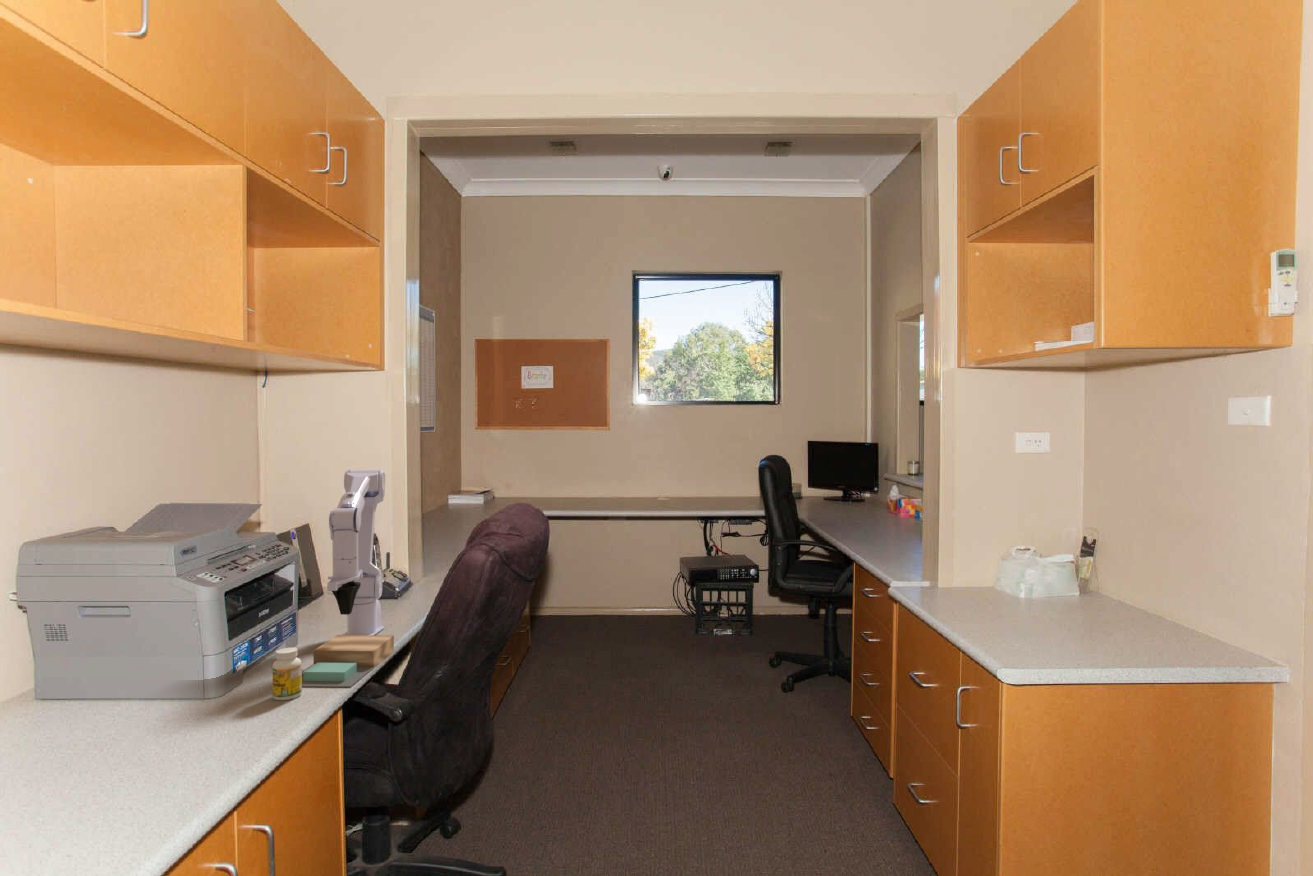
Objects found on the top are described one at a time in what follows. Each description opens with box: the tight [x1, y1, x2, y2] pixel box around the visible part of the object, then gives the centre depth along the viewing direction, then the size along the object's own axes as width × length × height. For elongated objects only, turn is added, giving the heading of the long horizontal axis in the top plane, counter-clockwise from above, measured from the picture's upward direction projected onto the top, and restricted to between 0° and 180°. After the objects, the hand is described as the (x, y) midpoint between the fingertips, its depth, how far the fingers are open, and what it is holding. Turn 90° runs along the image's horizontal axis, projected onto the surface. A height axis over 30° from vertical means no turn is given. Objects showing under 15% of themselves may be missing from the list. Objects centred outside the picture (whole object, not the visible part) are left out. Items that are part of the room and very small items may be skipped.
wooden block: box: [313, 634, 395, 669], centre depth 174 cm, size 12×14×4 cm
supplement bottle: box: [271, 647, 303, 701], centre depth 151 cm, size 5×5×10 cm
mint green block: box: [303, 663, 357, 681], centre depth 161 cm, size 6×9×2 cm, turn 89°
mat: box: [302, 667, 375, 689], centre depth 162 cm, size 12×14×1 cm
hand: (346, 613), depth 175 cm, fingers closed
